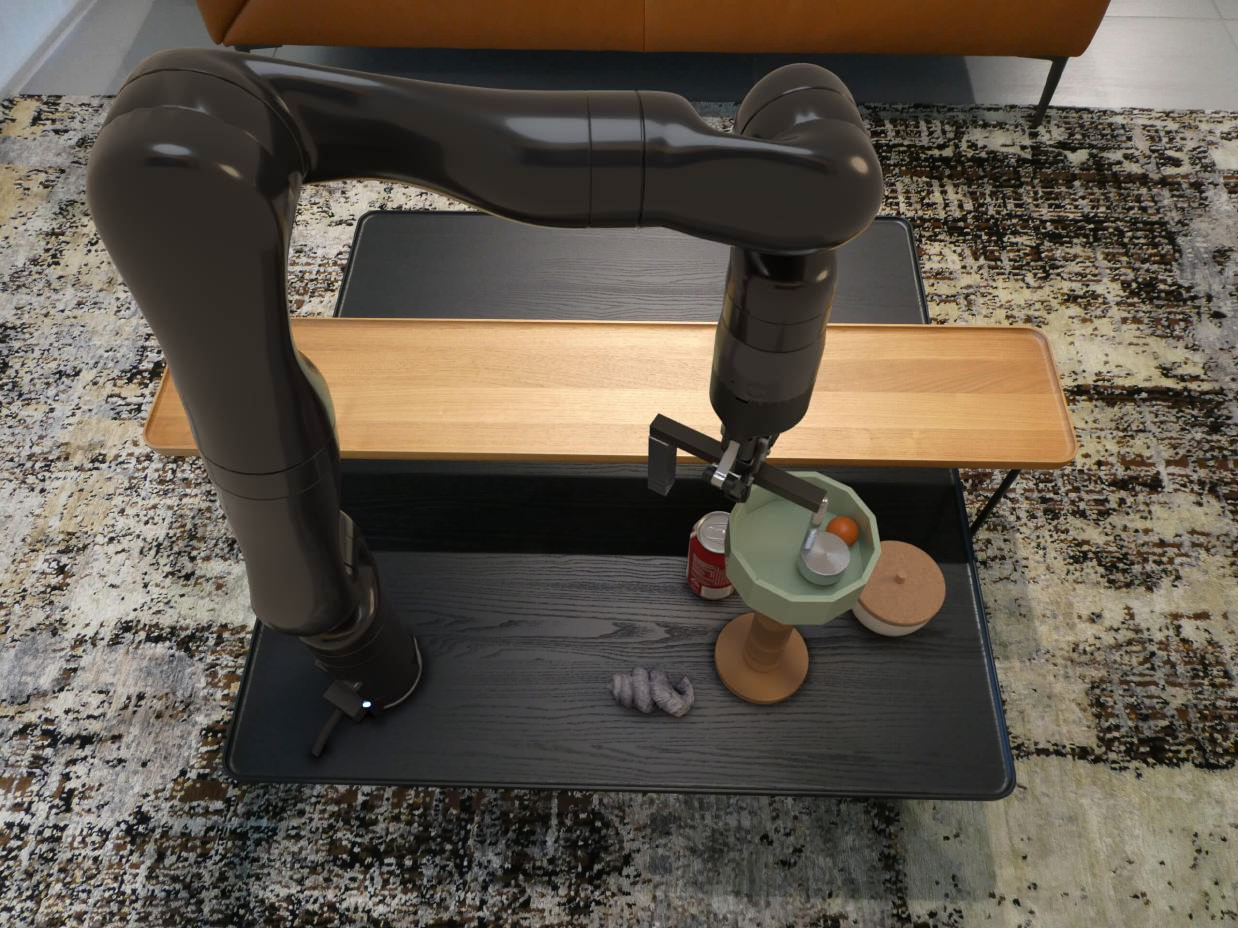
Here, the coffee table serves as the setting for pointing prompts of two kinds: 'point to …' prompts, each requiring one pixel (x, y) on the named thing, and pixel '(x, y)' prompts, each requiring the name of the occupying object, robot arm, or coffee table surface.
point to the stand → (761, 658)
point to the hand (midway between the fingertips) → (741, 487)
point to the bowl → (795, 554)
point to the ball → (843, 529)
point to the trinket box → (900, 591)
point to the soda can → (709, 557)
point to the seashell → (652, 691)
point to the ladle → (819, 550)
